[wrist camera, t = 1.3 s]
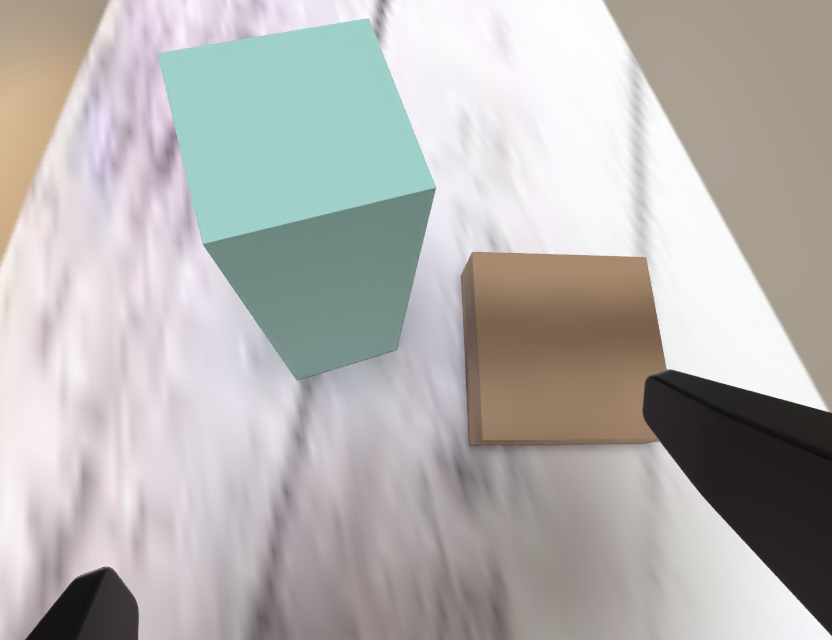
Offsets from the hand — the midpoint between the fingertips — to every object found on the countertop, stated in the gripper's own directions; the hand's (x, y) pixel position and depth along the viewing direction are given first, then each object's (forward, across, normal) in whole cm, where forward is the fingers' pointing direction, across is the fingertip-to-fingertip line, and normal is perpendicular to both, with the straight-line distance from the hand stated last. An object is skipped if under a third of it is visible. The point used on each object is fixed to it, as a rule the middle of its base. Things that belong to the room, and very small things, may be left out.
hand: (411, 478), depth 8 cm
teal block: (+14, 0, +4) cm, 15 cm away
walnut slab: (+11, -9, +8) cm, 16 cm away
